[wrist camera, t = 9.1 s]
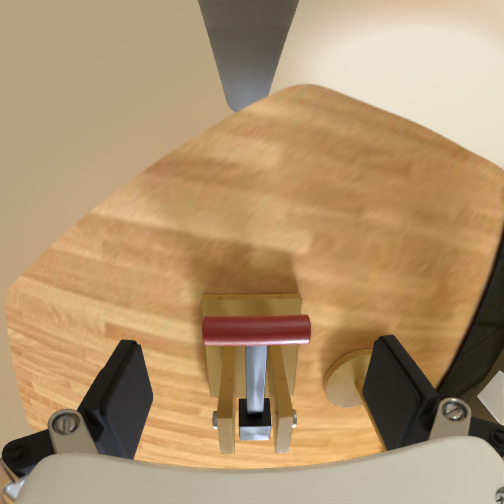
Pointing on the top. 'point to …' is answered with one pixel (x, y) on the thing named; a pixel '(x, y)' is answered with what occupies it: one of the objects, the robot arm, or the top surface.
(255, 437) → the switch lever
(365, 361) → the table lamp
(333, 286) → the top surface
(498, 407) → the milk
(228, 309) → the switch bracket
